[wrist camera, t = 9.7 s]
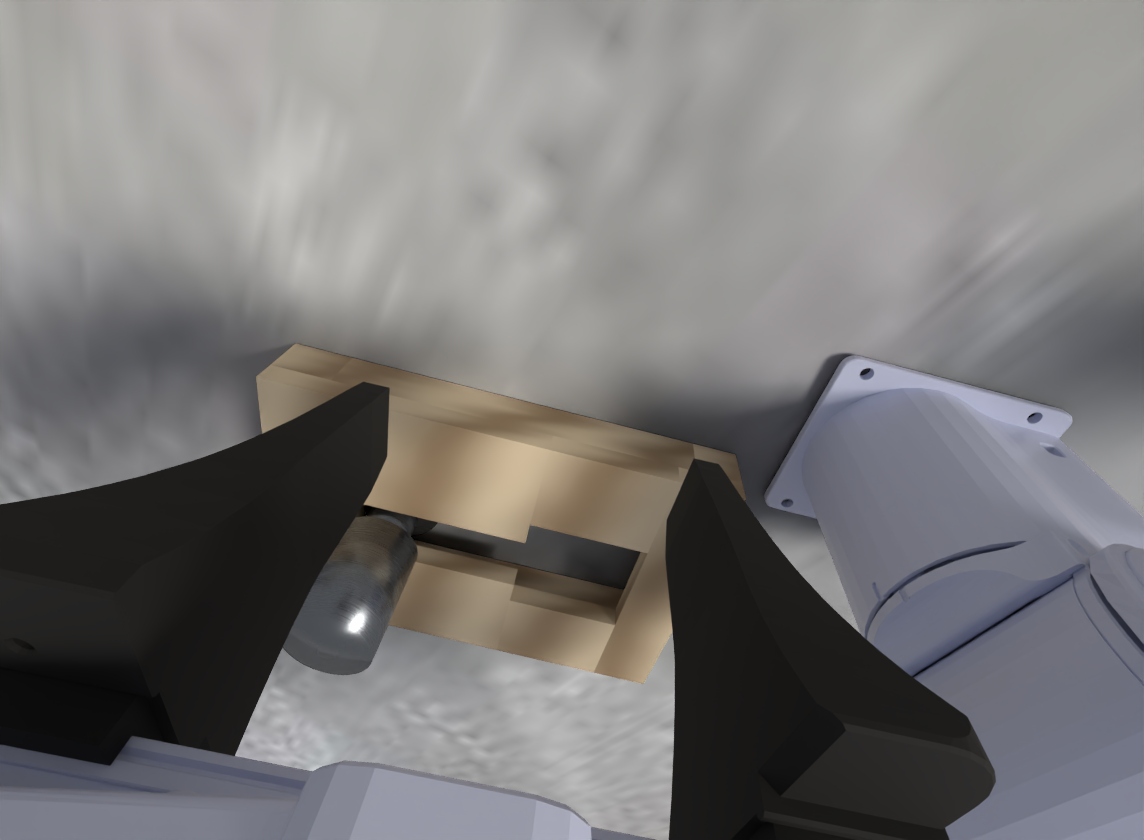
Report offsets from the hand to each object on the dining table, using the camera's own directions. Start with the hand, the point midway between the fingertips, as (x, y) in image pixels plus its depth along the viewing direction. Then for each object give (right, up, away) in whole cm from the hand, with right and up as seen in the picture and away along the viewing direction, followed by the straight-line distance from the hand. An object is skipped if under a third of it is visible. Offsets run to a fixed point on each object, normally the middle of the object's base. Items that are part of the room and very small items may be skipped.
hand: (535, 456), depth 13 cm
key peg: (-7, -3, +15) cm, 17 cm away
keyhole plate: (-3, -4, +15) cm, 16 cm away
